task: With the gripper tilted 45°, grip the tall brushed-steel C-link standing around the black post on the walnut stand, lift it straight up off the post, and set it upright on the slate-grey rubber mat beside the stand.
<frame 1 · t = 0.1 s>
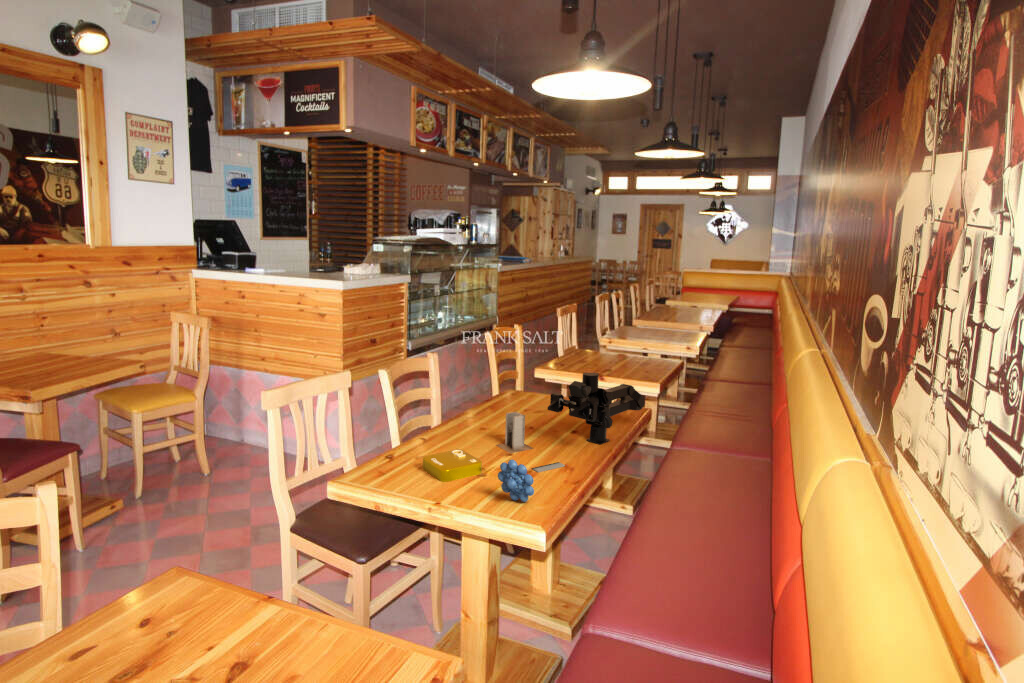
hand: (558, 411, 208), 17 cm above the table, tool horizontal, fingers open, 9 cm apart
element tile: (452, 472, 197), on the table
blue ball cluster: (513, 502, 174), on the table
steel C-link: (514, 446, 218), point 1 cm above the table, touching walnut stand
walnut stand: (514, 449, 218), on the table
slate mat: (541, 464, 204), on the table
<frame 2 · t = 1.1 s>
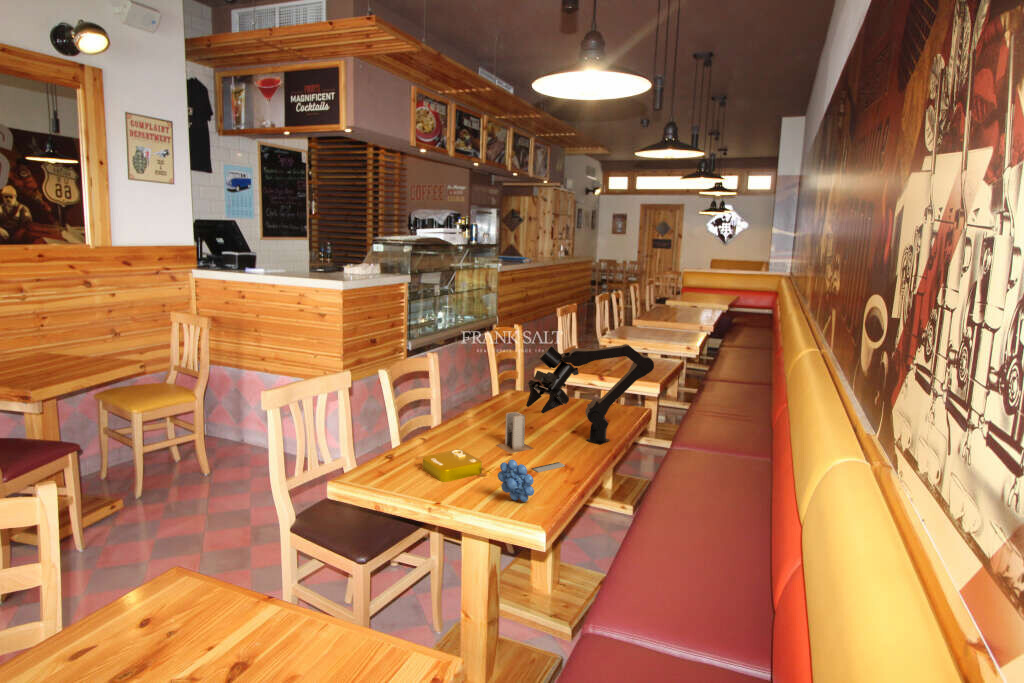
hand: (534, 409, 220), 14 cm above the table, tool tilted 45°, fingers open, 9 cm apart
nothing on the table moved.
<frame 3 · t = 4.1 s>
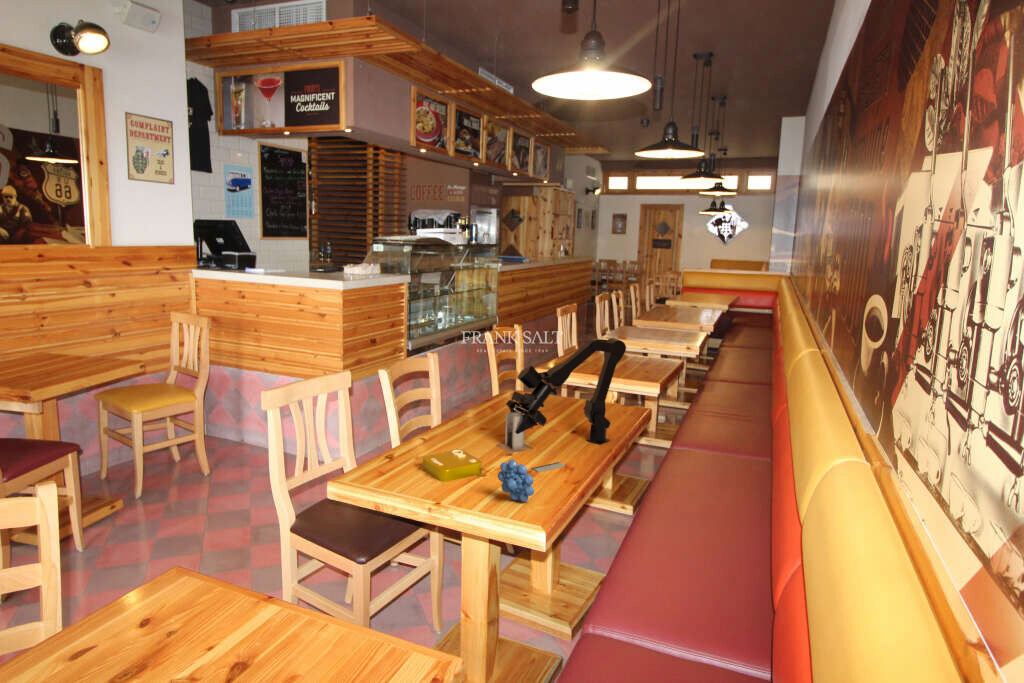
hand: (511, 430, 216), 7 cm above the table, tool tilted 45°, fingers closed on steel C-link, 6 cm apart
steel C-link: (514, 446, 218), point 1 cm above the table, touching gripper, walnut stand
everything else where it was.
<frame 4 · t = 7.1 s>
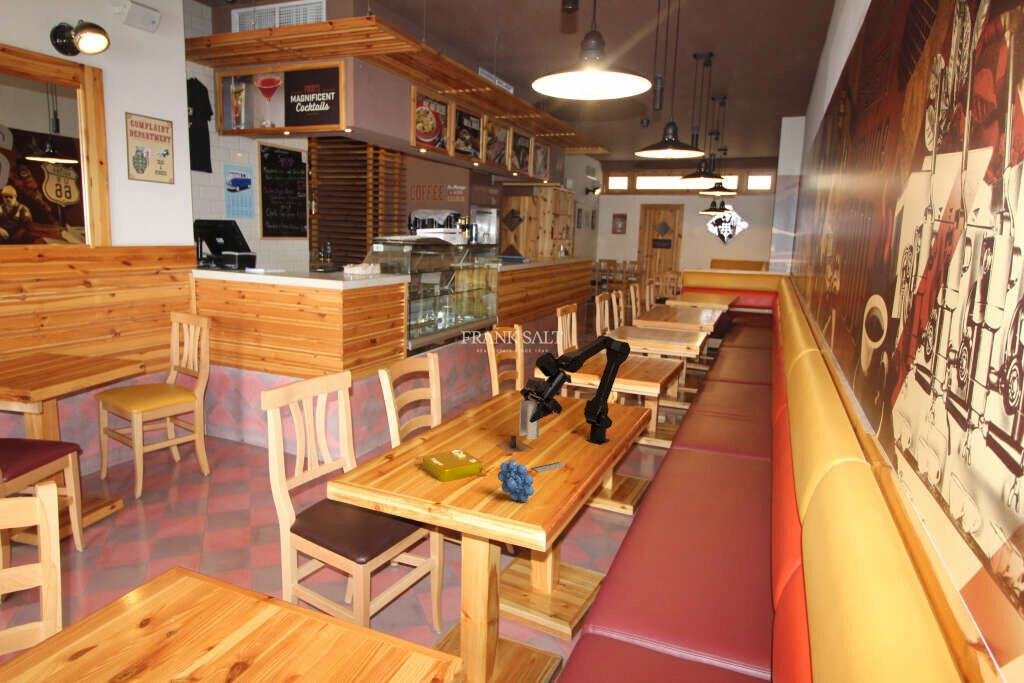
hand: (525, 419, 208), 13 cm above the table, tool tilted 45°, fingers closed on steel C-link, 6 cm apart
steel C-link: (528, 436, 210), point 7 cm above the table, touching gripper
everything else where it was.
when the fingers open (8 cm above the table, at t = 10.0 s): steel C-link drops 1 cm, resting on slate mat.
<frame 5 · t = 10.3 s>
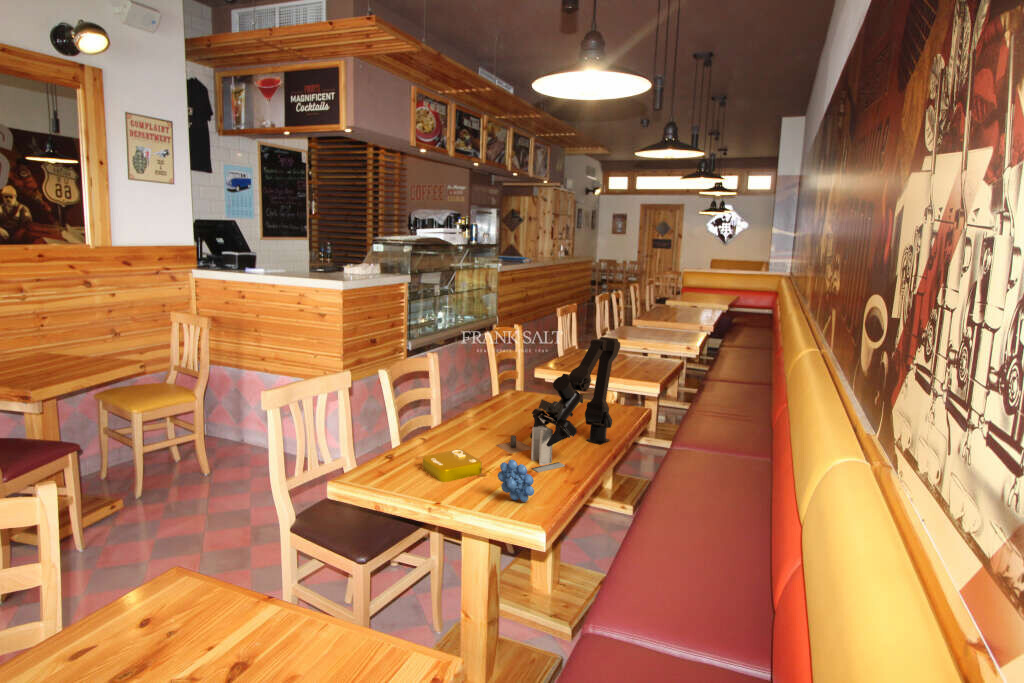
hand: (539, 442, 202), 8 cm above the table, tool tilted 45°, fingers open, 9 cm apart
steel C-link: (541, 462, 204), resting on slate mat
everything else where it was.
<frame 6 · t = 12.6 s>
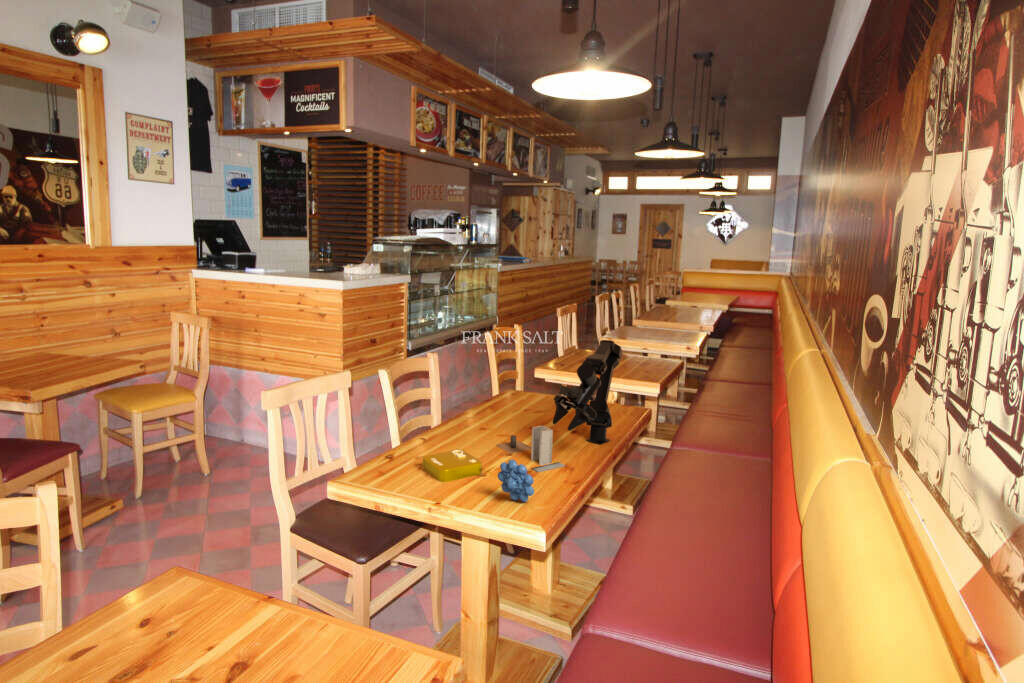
hand: (560, 426, 208), 12 cm above the table, tool tilted 40°, fingers open, 9 cm apart
nothing on the table moved.
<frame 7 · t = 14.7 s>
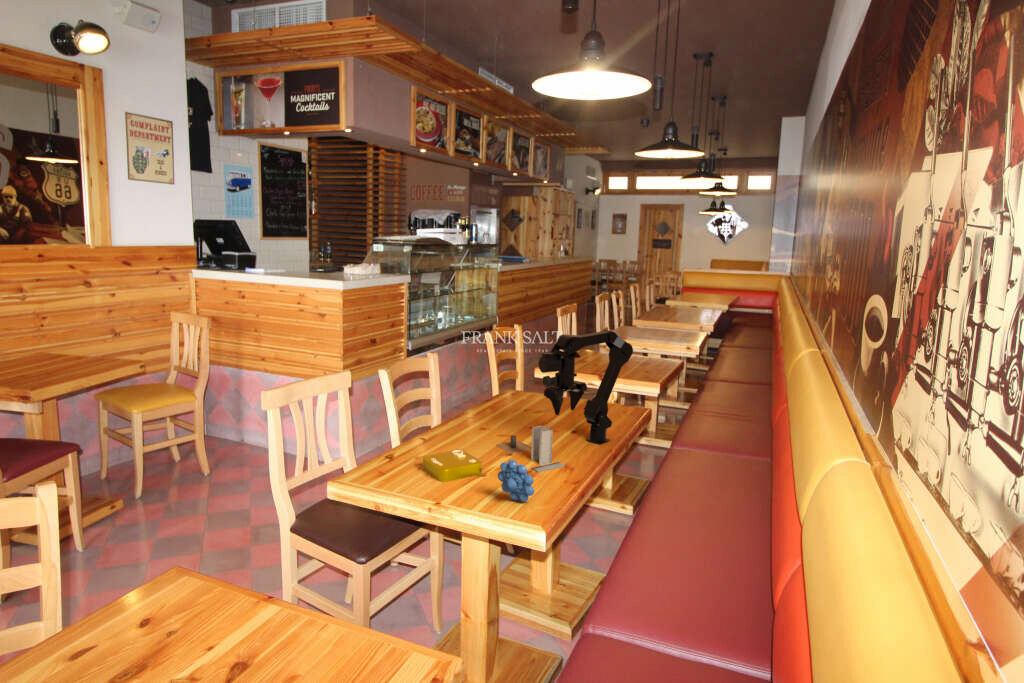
hand: (564, 412, 220), 13 cm above the table, tool pointing down, fingers open, 9 cm apart
nothing on the table moved.
at the end: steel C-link 0.1 cm from the slate mat (horizontally); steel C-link tilted 0°; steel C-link touching slate mat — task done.
